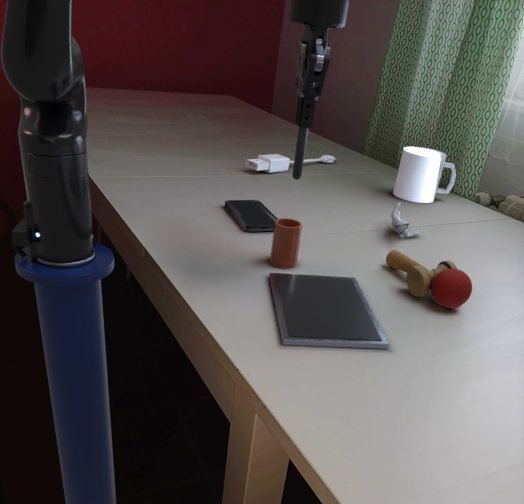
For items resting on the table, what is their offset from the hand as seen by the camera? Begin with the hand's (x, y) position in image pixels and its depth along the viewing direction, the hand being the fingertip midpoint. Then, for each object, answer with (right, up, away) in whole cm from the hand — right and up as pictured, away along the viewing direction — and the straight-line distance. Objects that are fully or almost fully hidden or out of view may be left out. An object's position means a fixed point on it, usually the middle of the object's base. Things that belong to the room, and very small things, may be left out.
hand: (303, 125), depth 78 cm
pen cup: (-2, -18, +13) cm, 22 cm away
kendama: (+20, -23, +10) cm, 32 cm away
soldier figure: (+22, -9, +32) cm, 40 cm away
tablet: (+3, -27, 0) cm, 27 cm away
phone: (-8, -6, +30) cm, 32 cm away
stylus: (-1, -7, +4) cm, 8 cm away
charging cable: (+2, +17, +67) cm, 70 cm away
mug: (+33, +5, +55) cm, 64 cm away
